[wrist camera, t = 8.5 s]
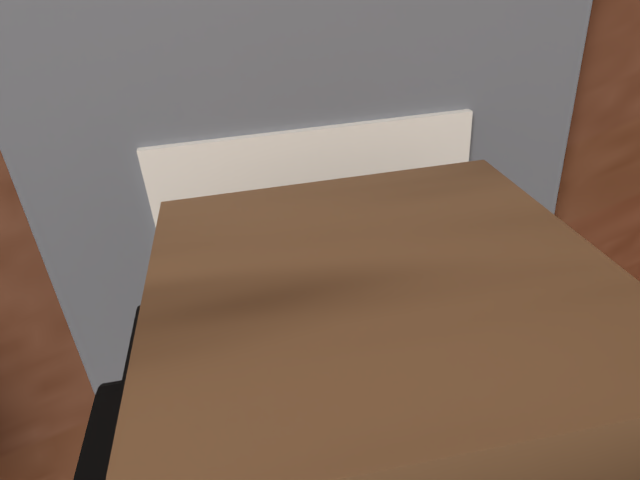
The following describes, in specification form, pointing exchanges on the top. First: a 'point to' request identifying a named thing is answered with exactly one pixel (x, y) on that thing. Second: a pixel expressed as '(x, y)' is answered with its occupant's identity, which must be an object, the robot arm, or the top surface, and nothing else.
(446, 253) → the walnut block
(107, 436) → the robot arm
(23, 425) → the top surface
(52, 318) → the top surface
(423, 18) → the pad
